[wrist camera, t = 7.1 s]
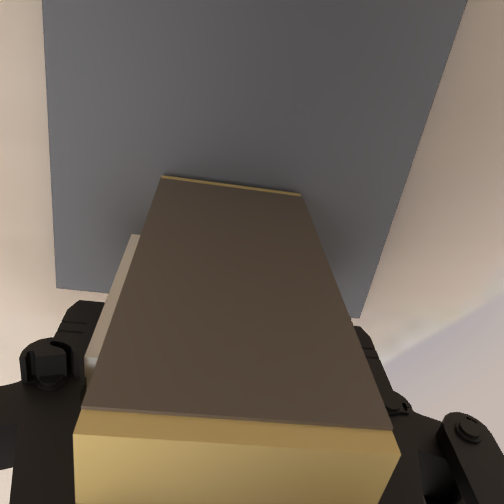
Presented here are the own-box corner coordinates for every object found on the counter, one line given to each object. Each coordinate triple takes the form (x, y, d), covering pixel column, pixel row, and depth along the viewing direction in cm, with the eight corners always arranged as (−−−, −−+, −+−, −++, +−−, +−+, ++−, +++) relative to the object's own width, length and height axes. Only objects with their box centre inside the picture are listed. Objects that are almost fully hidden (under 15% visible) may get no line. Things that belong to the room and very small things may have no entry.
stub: (161, 173, 18) (72, 431, 7) (300, 191, 18) (403, 451, 8) (152, 301, 21) (79, 619, 10) (273, 313, 21) (321, 622, 11)
